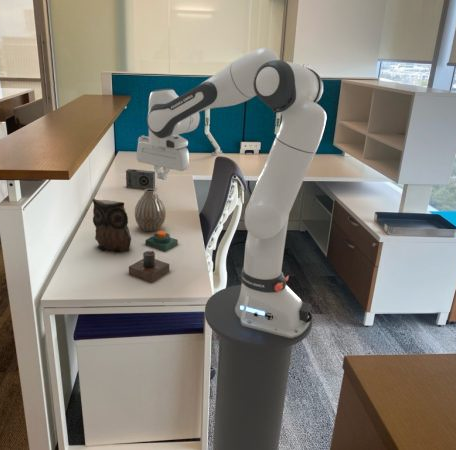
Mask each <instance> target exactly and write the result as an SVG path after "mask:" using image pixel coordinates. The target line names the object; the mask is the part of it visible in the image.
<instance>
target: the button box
mask: <svg viewBox="0 0 456 450" xmlns="http://www.w3.org/2000/svg"><path fill="white" fill-rule="evenodd" d="M178 241H179V240H178V239H176V238H173V237H171V235H170V233H168V232H166V237H164V238H159V237H157V232H156V233H154V234H153V235H152V236H151V237H148V238H146V239H145V246H148V247H150V248H154V249H157V250H160V251H162V252H167V251H169V250H170V249H173V248H174V247H176V246H178Z"/></svg>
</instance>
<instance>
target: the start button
mask: <svg viewBox="0 0 456 450" xmlns="http://www.w3.org/2000/svg"><path fill="white" fill-rule="evenodd" d="M156 233H157V237H159V238H164V237H166V233H167V232H166V230H157V232H156Z"/></svg>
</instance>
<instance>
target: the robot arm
mask: <svg viewBox="0 0 456 450" xmlns="http://www.w3.org/2000/svg"><path fill="white" fill-rule="evenodd" d="M323 93H324V82H323V79H322V77H321V76H320V75H319V73H317V71H314V69H311V68H309V67H305V66H302V65H300V64H299V63H296V62H293V61H285V60H281V59H280V58H279V56H278V55H277V53H276V52H275V51H274V50H272V49H271V48H269V47H259V48H256V49H254V50H252V51H248V53H245V54H243V55H242V56H239V57H238V58H236V59H235V60H233V61H232V62H230V63H229V64H228V65H226V66H225V67H223V68H222V69H220V70H219V71H217V72H216V73H215V74H213V75H212V76H211V77H209V78H207V79H206V80H204V81H203V82H201V83H200V84H198V85H197V86H195V87H193V88H191V89H190V90H188V91H186V92H184V93H183V94H181V95H180V96H179V95H178V94H177V93H176V91H175V90H174V89H173V88H161V89H154V90H152V91H151V92H150V94H149V98H148V112H147V116H146V123H147V127H148V136H146V135H141V136H139V137H138V139H137V147H136V161H137V162H138V163H141V164H147V165H150V166H153V168H154V172H155V174H156V178H157V179H160V180H163V181H165V180H167V179H168V173H170V170H174V171H179V172H184V171H186V170H188V169H189V167H190V154H189V153H190V152H189V149H188V148H187V147H188V145H189V141H188V139H186V138H184V137H183V136H181V135H182V134H186V133H190V132H193V131H195V130H197V128H198V127H199V125H200V123H201V114H200V112H203V111H205V110H210V109H216V108H225V107H232V106H236V105H239V104H242V103H245V102H247V101H249V100H251V99H253V98H254V97H256V96H257V98H258V99H259V100H260V101H261V102H263V103H264V104H265V105H266V106H267V107H269V109H270V110H271V111H272V112H273V113H275V114H277V113H280V115H281V123H280V126H279V127H278V131H277V132H276V135H275V137H274V140H273V142H272V145H271V148H270V149H269V152H268V155H267V157H266V160H265V162H264V165H263V167H262V169H261V172H260V175H259V176H258V179H257V181H256V183H255V186H254V188H253V191H252V192H251V194H250V195H251V196H250V198H249V200H248V203H247V204H246V207H245V210H244V227H245V228H246V231H247V235H246V240H245V244H244V245H245V246H244V259H243V266H242V268H241V274H240V285H242V286H241V291H240V296H239V299H238V302H237V304H236V307H235V313H236V314H237V316H238V317H239V318H240V321H241V324H242V326H245V327H249V328H252V329H256V330H260V331H264V332H268V333H272V334H276V335H279V336H283V337H287V338H294V337H297V336H299V335H301V334H302V333H303V332H304V331H305V330H306V329H307V327H308V325H309V323H310V321H311V319H312V317H313V313H312V312H311V313H312V314H311V313H310V311H311V306H312V304H311V303H308V302H304V301H303V304H302V299H301V298H300V297H299V296H298V295H297V294H296V292H294V291H293V290H292V289H291V288H290V287H289V286H288V285H287V282H288V281H289V277H290V275H287V276H285V275H284V272H283V271H282V269H283V263H284V262H283V260H284V253H285V246H286V238H287V233H288V232H287V231H288V224H289V217H290V213H291V211H292V208H293V206H294V205H295V204H294V203H295V201H296V199H297V196H298V194H299V191H300V189H301V187H302V185H303V183H304V180H305V177H306V175H307V173H308V171H309V169H310V167H311V164H312V161H313V159H314V157H315V155H316V153H317V151H318V149H319V146H320V143H321V140H322V139H323V134H324V131H325V127H326V122H327V113H326V111H325V109H324V108H323V107H322V106H321V105H320V104H318V102H319V101H320V100H321V98H322V95H323ZM161 168H162V169H161ZM162 171H163V172H162Z"/></svg>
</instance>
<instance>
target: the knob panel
mask: <svg viewBox="0 0 456 450" xmlns="http://www.w3.org/2000/svg"><path fill="white" fill-rule="evenodd" d="M169 272H170V263H168V262H165V261H162V260H159V259H157V258H155V266H154V267H151V268H147V267H144V265H143V258H142V259H140V260H138V261H137V262H135V263H132V264H130V265H129V266H128V275H130V276H132V277H135V278H138V279H141V280H142V281H145V282H148V283H153V282H155V281H156V280H158V279H160V278H162V277H163V276H164V275H166V274H168V273H169Z"/></svg>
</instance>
